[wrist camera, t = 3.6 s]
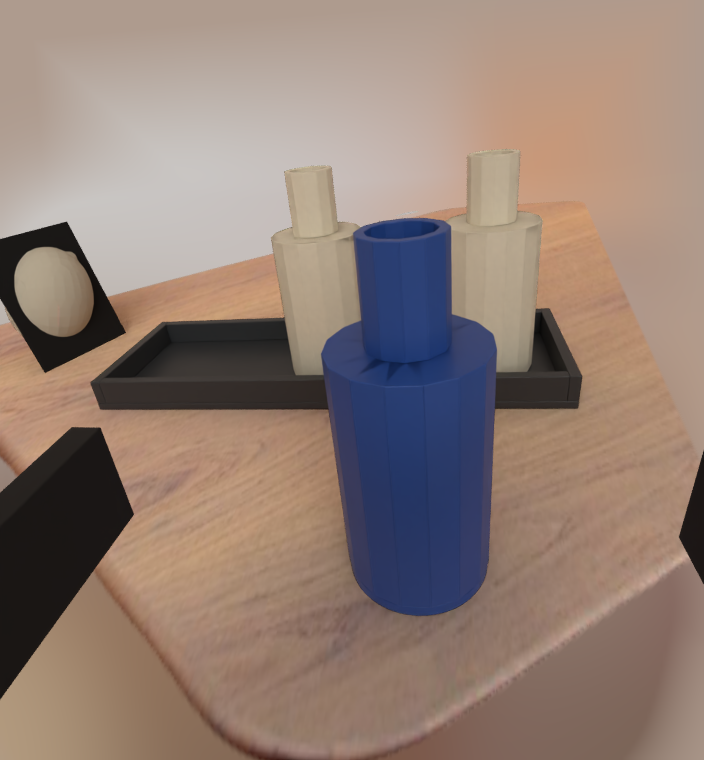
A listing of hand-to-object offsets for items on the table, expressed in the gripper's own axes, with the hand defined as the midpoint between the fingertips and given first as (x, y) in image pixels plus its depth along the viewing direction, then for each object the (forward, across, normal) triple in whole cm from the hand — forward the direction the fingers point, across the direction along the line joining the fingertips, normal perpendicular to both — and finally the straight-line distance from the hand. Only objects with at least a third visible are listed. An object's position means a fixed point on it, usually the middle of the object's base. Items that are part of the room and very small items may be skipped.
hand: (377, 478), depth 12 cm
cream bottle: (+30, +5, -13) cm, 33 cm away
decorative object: (+37, -39, -14) cm, 55 cm away
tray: (+30, -8, -13) cm, 34 cm away
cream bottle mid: (+30, -8, -13) cm, 34 cm away
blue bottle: (+10, 0, -13) cm, 16 cm away
